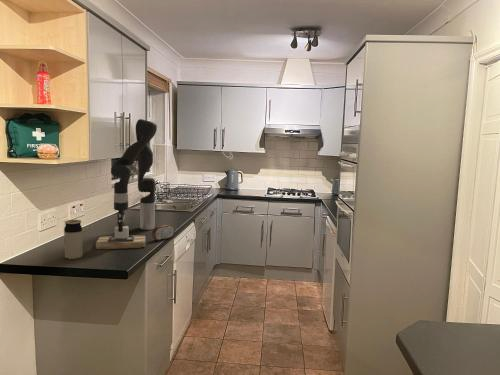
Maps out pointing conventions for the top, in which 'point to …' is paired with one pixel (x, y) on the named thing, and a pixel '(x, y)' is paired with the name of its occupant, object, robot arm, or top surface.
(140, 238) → the loading dock
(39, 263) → the top surface
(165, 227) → the tin
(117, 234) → the white block
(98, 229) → the top surface
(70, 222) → the travel mug
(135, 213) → the top surface
